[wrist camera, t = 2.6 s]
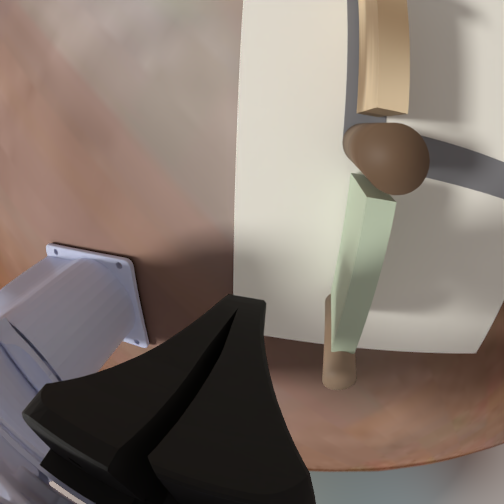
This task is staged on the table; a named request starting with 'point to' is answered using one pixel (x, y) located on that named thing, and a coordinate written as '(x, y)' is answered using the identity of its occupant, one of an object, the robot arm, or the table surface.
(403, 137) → the fixed fence
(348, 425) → the table surface
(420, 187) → the board
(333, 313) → the hinged panel
